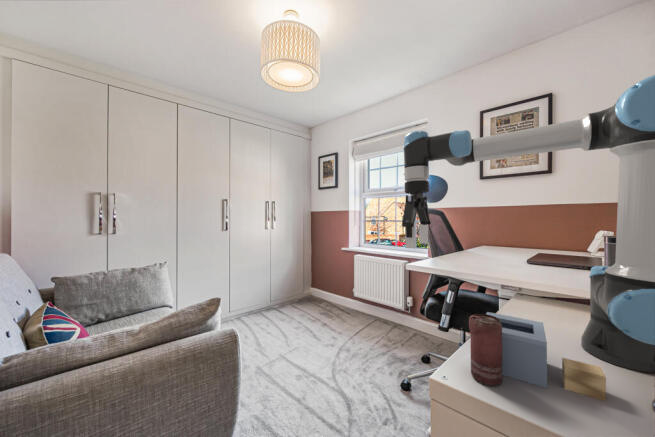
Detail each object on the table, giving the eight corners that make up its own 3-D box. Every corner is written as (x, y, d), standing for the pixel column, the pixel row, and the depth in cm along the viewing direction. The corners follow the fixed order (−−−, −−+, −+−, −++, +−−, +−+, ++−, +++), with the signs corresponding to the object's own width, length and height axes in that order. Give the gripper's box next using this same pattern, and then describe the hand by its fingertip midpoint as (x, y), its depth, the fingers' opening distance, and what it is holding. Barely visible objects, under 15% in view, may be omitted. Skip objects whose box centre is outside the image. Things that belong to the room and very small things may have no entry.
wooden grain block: (600, 390, 54) (600, 366, 54) (605, 401, 51) (605, 376, 50) (562, 379, 57) (562, 357, 57) (564, 389, 54) (564, 366, 54)
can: (467, 367, 62) (467, 311, 62) (498, 373, 60) (497, 314, 60) (471, 383, 56) (471, 321, 56) (505, 390, 54) (505, 325, 54)
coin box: (543, 361, 64) (542, 322, 64) (546, 388, 54) (546, 342, 54) (487, 347, 71) (486, 311, 71) (481, 368, 62) (481, 327, 62)
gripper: (417, 184, 95) (418, 241, 96) (390, 178, 76) (391, 249, 76) (438, 183, 91) (439, 242, 91) (415, 175, 71) (416, 251, 71)
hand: (417, 245), depth 84 cm, fingers open, 13 cm apart
